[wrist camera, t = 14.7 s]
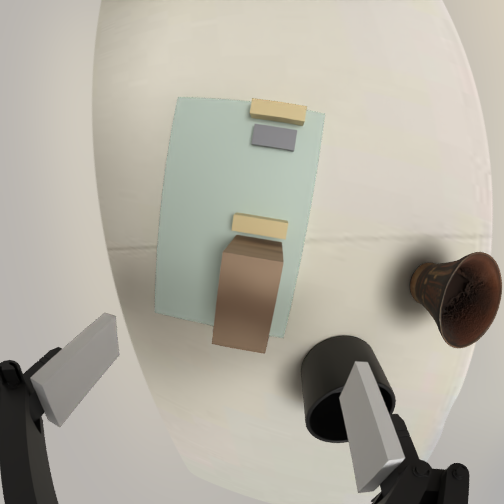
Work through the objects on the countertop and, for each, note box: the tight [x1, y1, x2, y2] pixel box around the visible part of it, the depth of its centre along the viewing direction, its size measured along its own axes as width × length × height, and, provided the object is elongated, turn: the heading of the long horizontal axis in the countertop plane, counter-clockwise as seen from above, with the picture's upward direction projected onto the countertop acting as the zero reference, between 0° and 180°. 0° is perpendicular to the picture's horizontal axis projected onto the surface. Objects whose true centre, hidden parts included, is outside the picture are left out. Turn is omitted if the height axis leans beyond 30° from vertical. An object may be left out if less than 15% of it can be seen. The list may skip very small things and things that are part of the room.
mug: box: [301, 336, 396, 443], centre depth 28 cm, size 9×12×9 cm
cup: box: [410, 252, 502, 348], centre depth 23 cm, size 9×9×10 cm
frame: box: [212, 235, 284, 353], centre depth 25 cm, size 8×5×8 cm, turn 171°
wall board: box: [155, 97, 325, 338], centre depth 27 cm, size 24×15×3 cm, turn 171°
